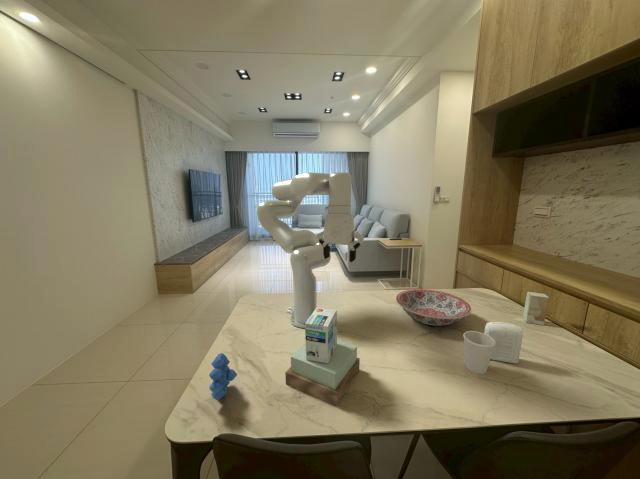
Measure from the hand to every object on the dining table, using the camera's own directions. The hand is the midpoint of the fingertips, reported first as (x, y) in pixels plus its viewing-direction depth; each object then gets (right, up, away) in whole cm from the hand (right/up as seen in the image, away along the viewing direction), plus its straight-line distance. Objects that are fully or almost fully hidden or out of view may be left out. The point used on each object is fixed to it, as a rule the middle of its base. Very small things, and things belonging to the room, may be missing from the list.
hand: (339, 259), depth 91 cm
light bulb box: (-6, -25, -16) cm, 31 cm away
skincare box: (+82, -28, +18) cm, 89 cm away
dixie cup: (+41, -33, -10) cm, 54 cm away
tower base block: (-6, -34, -14) cm, 37 cm away
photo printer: (+52, -32, -6) cm, 61 cm away
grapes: (-32, -35, -21) cm, 52 cm away
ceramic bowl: (+40, -27, +20) cm, 53 cm away
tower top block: (-5, -30, -15) cm, 34 cm away
